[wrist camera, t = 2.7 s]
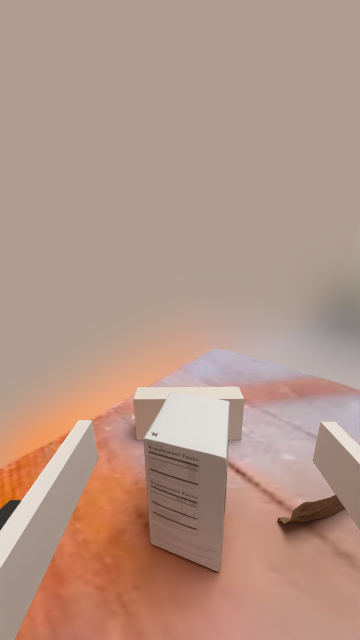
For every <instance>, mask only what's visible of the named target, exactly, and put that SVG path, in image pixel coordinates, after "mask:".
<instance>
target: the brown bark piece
mask: <svg viewBox="0 0 360 640" xmlns="http://www.w3.org/2000/svg"><path fill="white" fill-rule="evenodd" d="M342 508H344V506H343V504H342V503H341V502H340V500H339V499H338V497H337V496H336V495H334V496H332V497H330V498H327V499H323V500H319V501H315V502H305V503H303V504H301V505H300V506H298V507H297V508H296V509H294V511H292V517H291V518H286V517H282V518H278V520H277V521H279V520H281V521H282V522H283V523H287V522H290V521H292V522H293V521H297V522H305V521H309V520H313V519H321V518H325V517H328V516H330V515H333V514H335V513H336V512H338V511H339V510H341V509H342Z"/></svg>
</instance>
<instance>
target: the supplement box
mask: <svg viewBox="0 0 360 640" xmlns="http://www.w3.org/2000/svg"><path fill="white" fill-rule="evenodd" d="M229 409H230V402H229V401H225V400H220V399H214V398H207V397H201V396H195V395H189V394H184V393H177V392H170V393H169V395H168V397H167V399H166V400H165V402H164V404H163V406H162V408H161V410H160V412H159V414H158V415H157V417H156V419H155V420H154V422H153V424H152V425H151V427H150V429H149V430H148V432H147V434H146V435H145V437H144V453H145V468H146V481H147V496H148V512H149V527H150V541H151V544H153V545H155V546H158V547H160V548H163V549H165V550H167V551H170V552H172V553H175V554H177V555H179V556H182V557H184V558H186V559H189V560H191V561H193V562H196V563H198V564H201V565H203V566H205V567H208V568H210V569H212V570H215V571H217V572H220V565H221V552H222V539H223V526H224V512H225V499H226V482H227V465H228V446H229Z"/></svg>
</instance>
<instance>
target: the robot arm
mask: <svg viewBox="0 0 360 640" xmlns="http://www.w3.org/2000/svg"><path fill="white" fill-rule="evenodd" d="M97 460H98V456H97V449H96V442H95V435H94V428H93V421H92V420H79V421H78V422H77V424H76V425H75V426H74V428H73V429H72V431H71V432H70V433H69V435H68V436H67V438H66V439H65V440H64V442H63V443H62V445H61V446H60V448H59V449H58V450H57V452H56V453H55V455H54V456H53V457H52V459H51V460H50V462H49V463H48V464H47V466H46V467H45V469H44V470H43V471H42V473H41V474H40V476H39V477H38V478H37V480H36V481H35V483H34V484H33V485H32V487H31V488H30V490H29V491H28V492H27V494H26V495H25V497H24V498H23V499H22V500H10V501H9V502H8V503H7V504H6V505H4V506H3V507H2V508H1V509H0V640H15V637H16V635H17V633H18V631H19V629H20V627H21V624H22V622H23V620H24V618H25V616H26V614H27V611H28V609H29V607H30V605H31V603H32V601H33V598H34V596H35V594H36V592H37V590H38V588H39V585H40V583H41V581H42V579H43V577H44V575H45V572H46V570H47V568H48V566H49V564H50V562H51V559H52V557H53V555H54V553H55V551H56V549H57V546H58V544H59V542H60V540H61V538H62V536H63V533H64V531H65V529H66V527H67V525H68V523H69V520H70V518H71V516H72V514H73V512H74V510H75V507H76V505H77V503H78V501H79V499H80V497H81V494H82V492H83V490H84V488H85V486H86V484H87V481H88V479H89V477H90V475H91V473H92V471H93V469H94V466H95V464H96V462H97ZM313 462H314V464H315V465H316V467H317V468H318V469H319V471H320V472H321V474H322V475H323V477H324V478H325V480H326V481H327V483H328V484H329V486H330V487H331V488H332V490H333V491H334V493H335V494H336V496H337V497H338V499H339V500H340V502H341V503H342V504H343V506H344V507H345V509H346V510H347V512H348V513H349V515H350V516H351V518H352V519H353V520H354V522H355V523H356V525H357V526H358V528H359V529H360V446H359V445H358V444H357V443H356V442H355V441H354V440H353V439H352V438H351V437H350V436H349V435H348V434H347V433H346V432H345V431H344V430H343V429H342V428H341V427H340V426H339V425H338V424H337V423H336V422H321V423H320V428H319V433H318V438H317V443H316V448H315V453H314V457H313Z"/></svg>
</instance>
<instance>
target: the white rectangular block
mask: <svg viewBox="0 0 360 640" xmlns="http://www.w3.org/2000/svg"><path fill="white" fill-rule="evenodd" d="M170 392H177V393H184V394H189V395H195V396H201V397H207V398H214V399H220V400H225V401H229V402H230V409H229V440H241V432H242V420H243V407H244V397H243V395H242V393H241V391H240V389H239V387H138V388H137V391H136V394H135V396H134V399H133V401H134V413H135V425H136V437H137V440H144V437H145V435H146V434H147V432H148V430H149V429H150V427H151V425H152V424H153V422H154V420H155V419H156V417H157V415H158V414H159V412H160V410H161V408H162V406H163V404H164V402H165V400H166V399H167V397H168V395H169V393H170Z"/></svg>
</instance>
